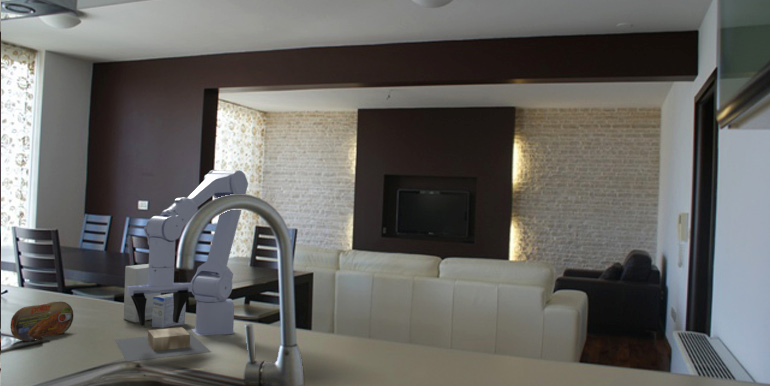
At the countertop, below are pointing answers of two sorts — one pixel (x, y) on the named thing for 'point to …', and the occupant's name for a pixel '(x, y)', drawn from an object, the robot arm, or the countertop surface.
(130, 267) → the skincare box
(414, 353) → the countertop surface
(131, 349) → the mat
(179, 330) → the tan flat block
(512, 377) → the countertop surface
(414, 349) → the countertop surface
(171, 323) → the medicine box
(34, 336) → the tin
